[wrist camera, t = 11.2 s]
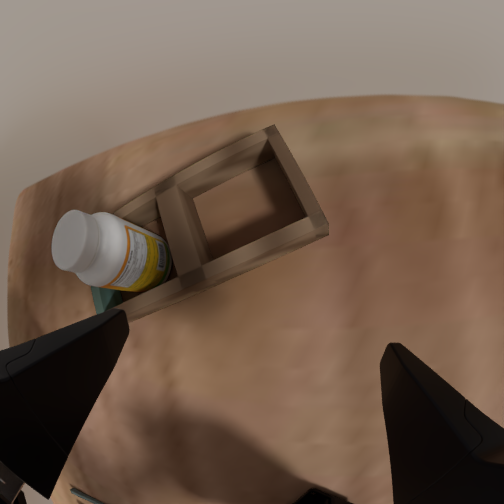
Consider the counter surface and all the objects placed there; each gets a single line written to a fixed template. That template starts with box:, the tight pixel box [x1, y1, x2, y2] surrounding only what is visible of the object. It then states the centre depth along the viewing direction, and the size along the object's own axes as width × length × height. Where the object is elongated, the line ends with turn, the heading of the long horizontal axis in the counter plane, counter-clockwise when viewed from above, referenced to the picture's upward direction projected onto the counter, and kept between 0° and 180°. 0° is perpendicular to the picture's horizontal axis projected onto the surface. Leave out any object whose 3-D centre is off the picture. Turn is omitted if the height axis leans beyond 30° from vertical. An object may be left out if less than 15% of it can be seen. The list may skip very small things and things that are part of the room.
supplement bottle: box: [52, 210, 172, 293], centre depth 20 cm, size 5×5×10 cm
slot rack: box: [91, 125, 329, 323], centre depth 22 cm, size 20×9×3 cm, turn 112°
